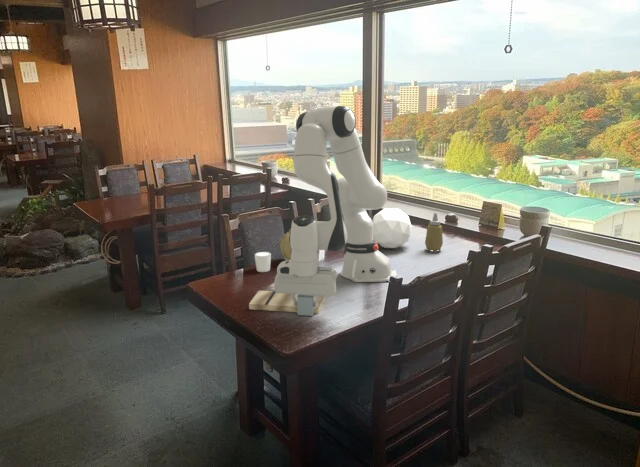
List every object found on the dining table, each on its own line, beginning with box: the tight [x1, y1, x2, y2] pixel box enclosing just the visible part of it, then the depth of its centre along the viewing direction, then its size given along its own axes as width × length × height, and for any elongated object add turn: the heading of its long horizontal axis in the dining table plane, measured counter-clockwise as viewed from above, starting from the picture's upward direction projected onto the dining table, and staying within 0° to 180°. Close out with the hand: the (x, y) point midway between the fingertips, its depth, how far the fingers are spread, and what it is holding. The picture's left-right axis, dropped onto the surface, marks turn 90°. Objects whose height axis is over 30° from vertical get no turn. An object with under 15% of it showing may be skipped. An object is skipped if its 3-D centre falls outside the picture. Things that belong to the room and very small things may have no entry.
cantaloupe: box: [279, 228, 292, 260], centre depth 210 cm, size 15×15×15 cm
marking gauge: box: [297, 294, 315, 317], centre depth 164 cm, size 5×14×6 cm, turn 171°
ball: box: [372, 207, 413, 249], centre depth 228 cm, size 19×20×20 cm
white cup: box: [254, 251, 272, 273], centre depth 201 cm, size 7×7×7 cm
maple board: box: [248, 290, 325, 314], centre depth 168 cm, size 24×12×2 cm, turn 81°
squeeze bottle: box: [424, 212, 444, 251], centre depth 222 cm, size 8×8×18 cm
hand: (305, 306), depth 159 cm, fingers closed on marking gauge, 5 cm apart
